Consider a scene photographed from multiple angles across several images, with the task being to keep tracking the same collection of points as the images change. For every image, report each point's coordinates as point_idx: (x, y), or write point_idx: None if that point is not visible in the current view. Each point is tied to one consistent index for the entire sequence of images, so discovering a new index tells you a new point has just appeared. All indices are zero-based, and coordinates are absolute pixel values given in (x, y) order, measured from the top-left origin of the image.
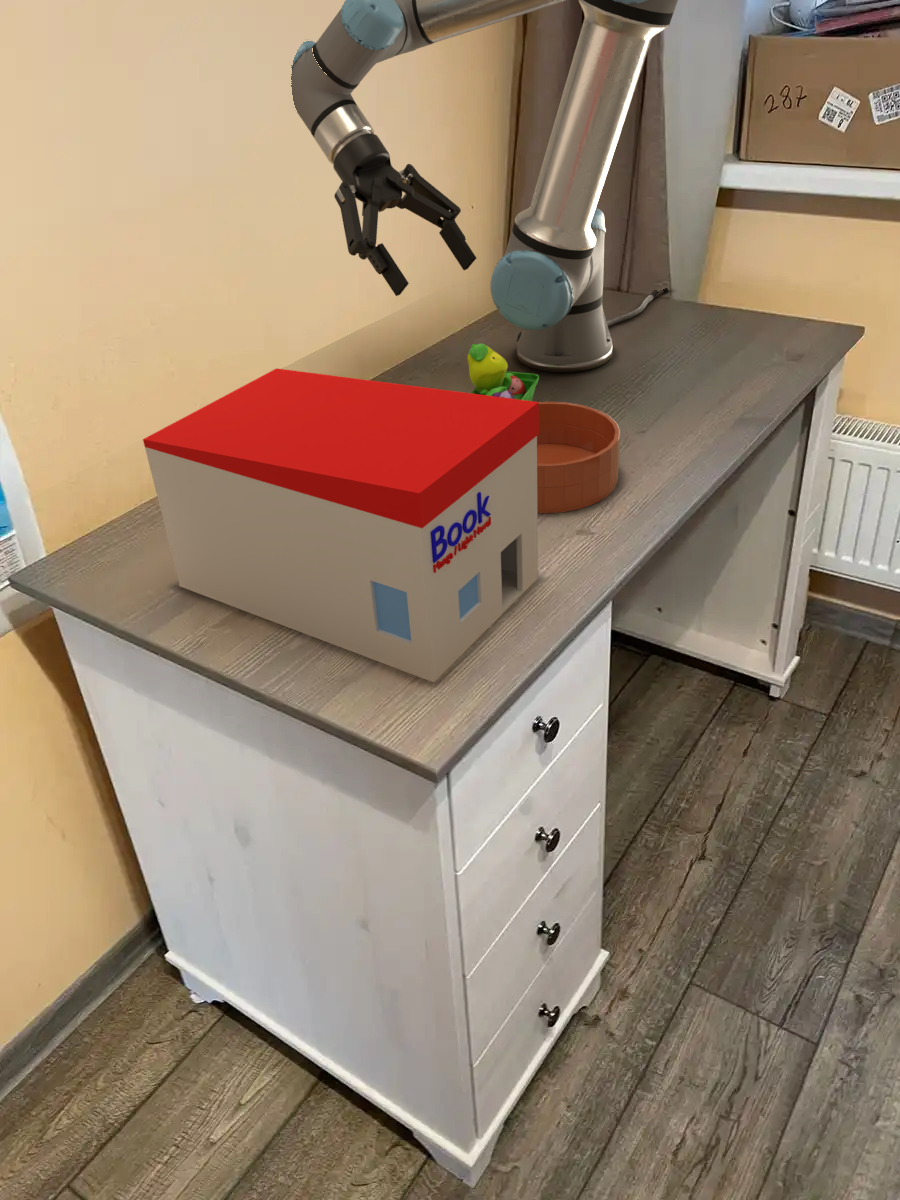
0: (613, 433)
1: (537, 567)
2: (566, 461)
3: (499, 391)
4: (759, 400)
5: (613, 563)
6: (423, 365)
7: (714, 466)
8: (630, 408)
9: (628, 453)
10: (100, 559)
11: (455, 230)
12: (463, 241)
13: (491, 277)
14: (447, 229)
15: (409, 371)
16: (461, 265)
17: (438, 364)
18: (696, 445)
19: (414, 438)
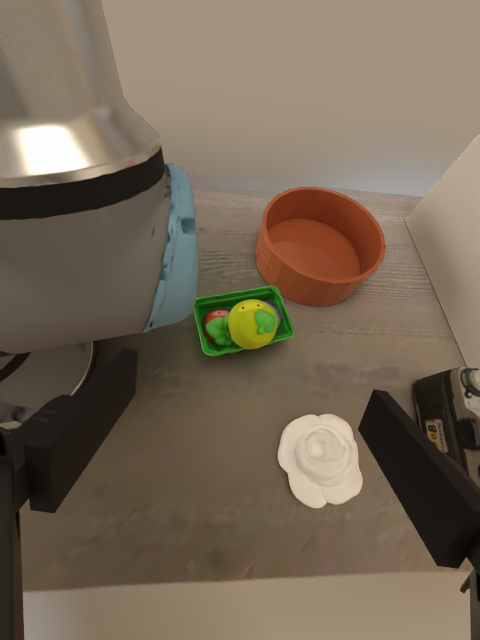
0: (284, 199)
1: (410, 213)
2: (284, 251)
3: (268, 305)
4: None
5: (363, 196)
6: (122, 547)
7: (230, 182)
8: None
9: (241, 226)
10: None
11: (76, 409)
12: (100, 380)
13: (188, 292)
14: (65, 454)
15: (154, 553)
16: (129, 399)
17: (110, 523)
18: (205, 196)
19: None
